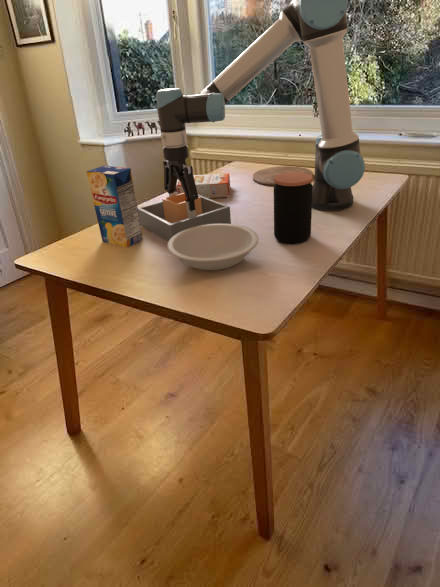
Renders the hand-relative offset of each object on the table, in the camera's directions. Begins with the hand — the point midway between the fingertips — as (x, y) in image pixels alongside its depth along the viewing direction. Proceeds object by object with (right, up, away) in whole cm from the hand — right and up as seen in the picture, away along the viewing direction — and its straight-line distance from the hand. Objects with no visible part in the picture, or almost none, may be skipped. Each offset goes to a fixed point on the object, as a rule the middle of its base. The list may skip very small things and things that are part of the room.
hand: (183, 215), depth 141 cm
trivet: (+38, +23, +41) cm, 61 cm away
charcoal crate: (0, -3, +2) cm, 3 cm away
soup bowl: (+11, -17, -24) cm, 32 cm away
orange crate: (0, -2, +1) cm, 2 cm away
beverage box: (-19, -9, -6) cm, 21 cm away
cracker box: (+16, +17, +27) cm, 36 cm away
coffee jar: (+33, -9, -14) cm, 37 cm away
